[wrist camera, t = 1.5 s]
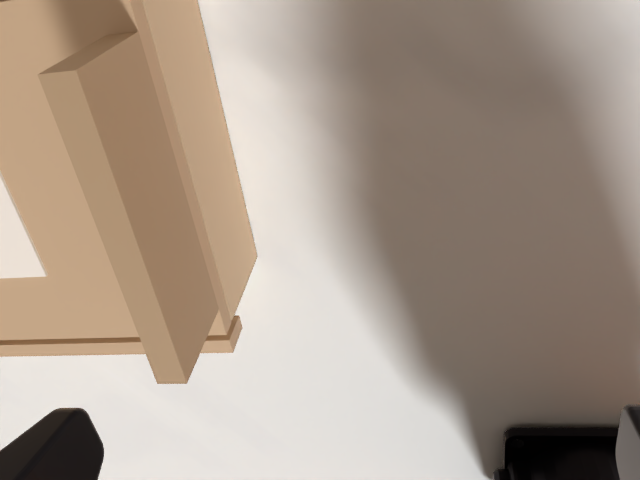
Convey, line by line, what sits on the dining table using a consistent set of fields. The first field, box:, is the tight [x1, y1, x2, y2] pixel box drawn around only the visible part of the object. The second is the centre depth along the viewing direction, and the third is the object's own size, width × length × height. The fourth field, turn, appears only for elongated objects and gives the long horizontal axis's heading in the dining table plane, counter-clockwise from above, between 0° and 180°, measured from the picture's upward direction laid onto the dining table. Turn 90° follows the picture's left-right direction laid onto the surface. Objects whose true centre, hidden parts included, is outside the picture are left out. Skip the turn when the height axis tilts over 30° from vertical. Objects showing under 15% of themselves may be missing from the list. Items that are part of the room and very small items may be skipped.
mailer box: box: [141, 0, 257, 320], centre depth 19 cm, size 14×10×4 cm
